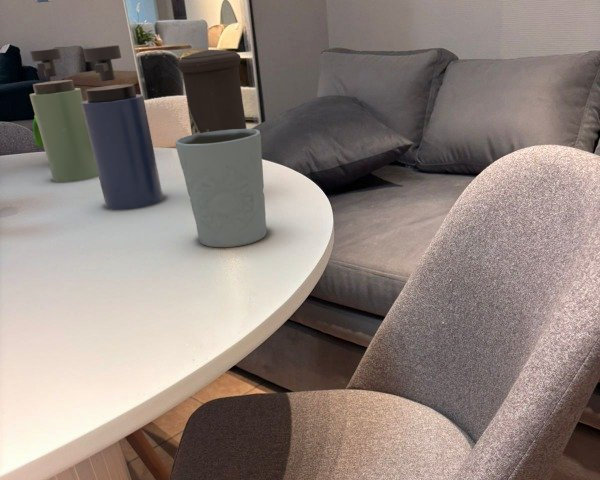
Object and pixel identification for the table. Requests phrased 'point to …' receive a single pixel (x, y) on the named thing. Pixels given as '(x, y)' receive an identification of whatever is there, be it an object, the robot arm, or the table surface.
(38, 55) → the sage flask pump
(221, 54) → the container
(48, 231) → the table surface
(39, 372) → the table surface
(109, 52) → the navy flask pump
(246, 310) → the table surface
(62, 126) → the sage flask
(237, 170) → the grey-green cup
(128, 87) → the navy lidded canister
